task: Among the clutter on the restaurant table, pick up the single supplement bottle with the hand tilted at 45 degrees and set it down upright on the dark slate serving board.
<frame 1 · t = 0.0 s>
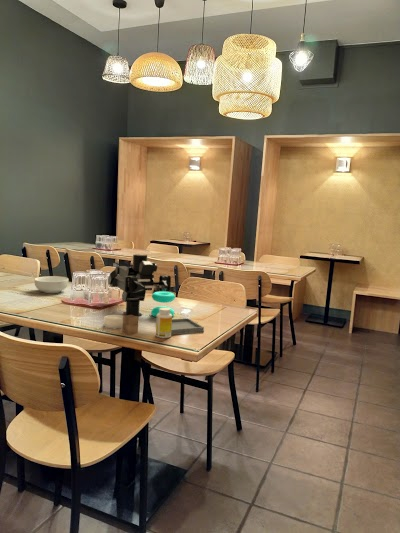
hand: (155, 287, 154), 17 cm above the table, tool horizontal, fingers open, 9 cm apart
donuts: (162, 316, 179), on the table
cereal bowl: (51, 292, 215), on the table
cream rounded block: (114, 326, 159), on the table
slate board: (179, 328, 161), on the table
walnut block: (130, 332, 152), on the table
supplement bottle: (163, 336, 150), on the table
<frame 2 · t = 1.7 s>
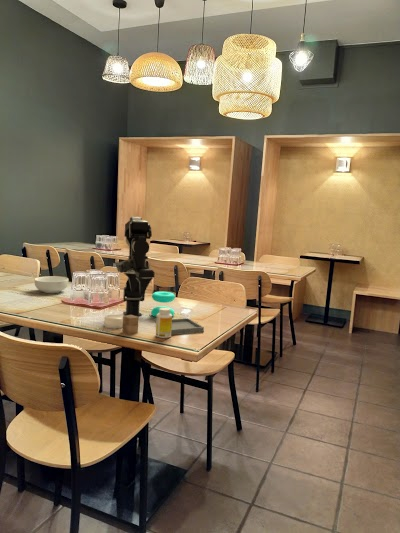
hand: (137, 293, 160), 13 cm above the table, tool pointing down, fingers open, 9 cm apart
nothing on the table moved.
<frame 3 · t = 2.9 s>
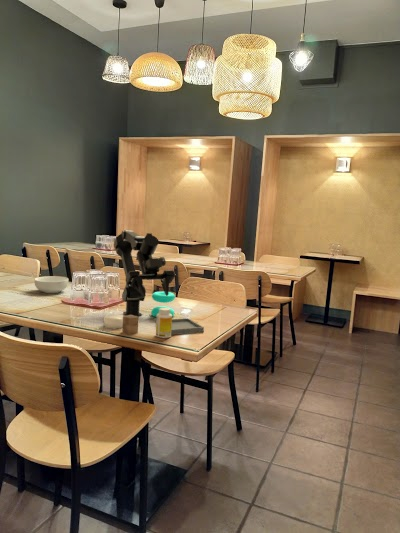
hand: (156, 295, 154), 13 cm above the table, tool tilted 45°, fingers open, 9 cm apart
nothing on the table moved.
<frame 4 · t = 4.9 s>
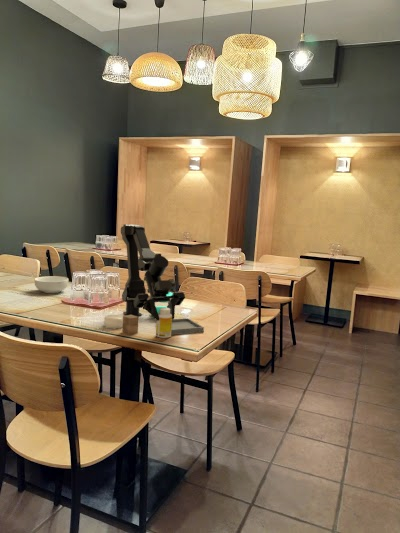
hand: (165, 319, 148), 7 cm above the table, tool tilted 45°, fingers closed on supplement bottle, 6 cm apart
supplement bottle: (163, 336, 150), on the table, touching gripper
everything else where it was.
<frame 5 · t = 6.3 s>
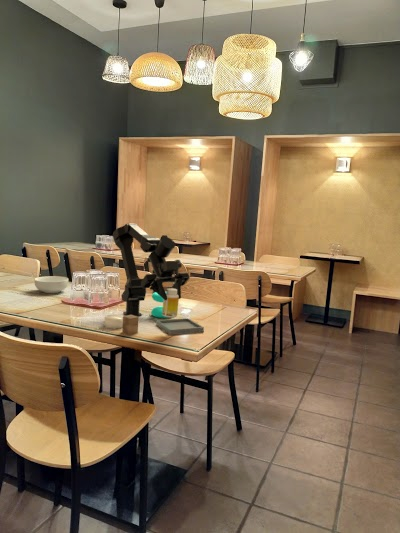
hand: (173, 299, 152), 13 cm above the table, tool tilted 45°, fingers closed on supplement bottle, 6 cm apart
supplement bottle: (169, 316, 154), point 6 cm above the table, touching gripper
everything else where it was.
when the fingers open (9 cm above the table, at t = 8.0 s): supplement bottle stays where it is, resting on slate board.
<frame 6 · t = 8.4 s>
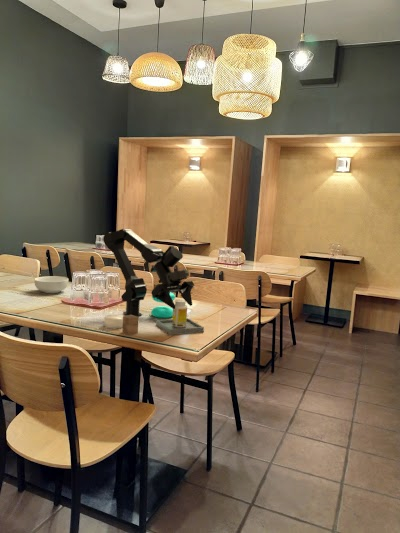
hand: (183, 306, 159), 9 cm above the table, tool tilted 45°, fingers open, 9 cm apart
supplement bottle: (178, 326, 161), point 1 cm above the table, touching slate board
everything else where it was.
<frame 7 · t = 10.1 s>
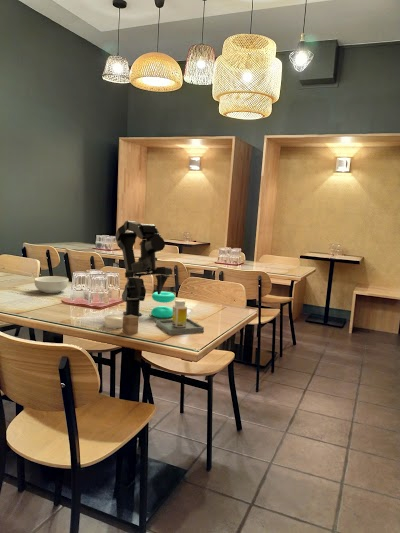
hand: (148, 294, 160), 12 cm above the table, tool tilted 15°, fingers open, 9 cm apart
nothing on the table moved.
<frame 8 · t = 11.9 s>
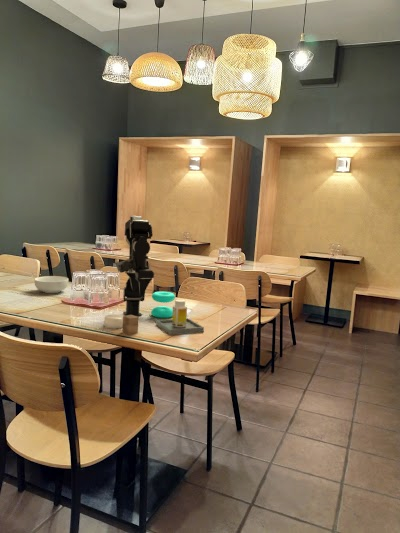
hand: (137, 292, 160), 13 cm above the table, tool pointing down, fingers open, 9 cm apart
nothing on the table moved.
at the end: supplement bottle inside the target area on the slate board (0.2 cm from its centre), point 0.6 cm above the slate board's base; supplement bottle tilted 0°; the gripper is holding nothing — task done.
